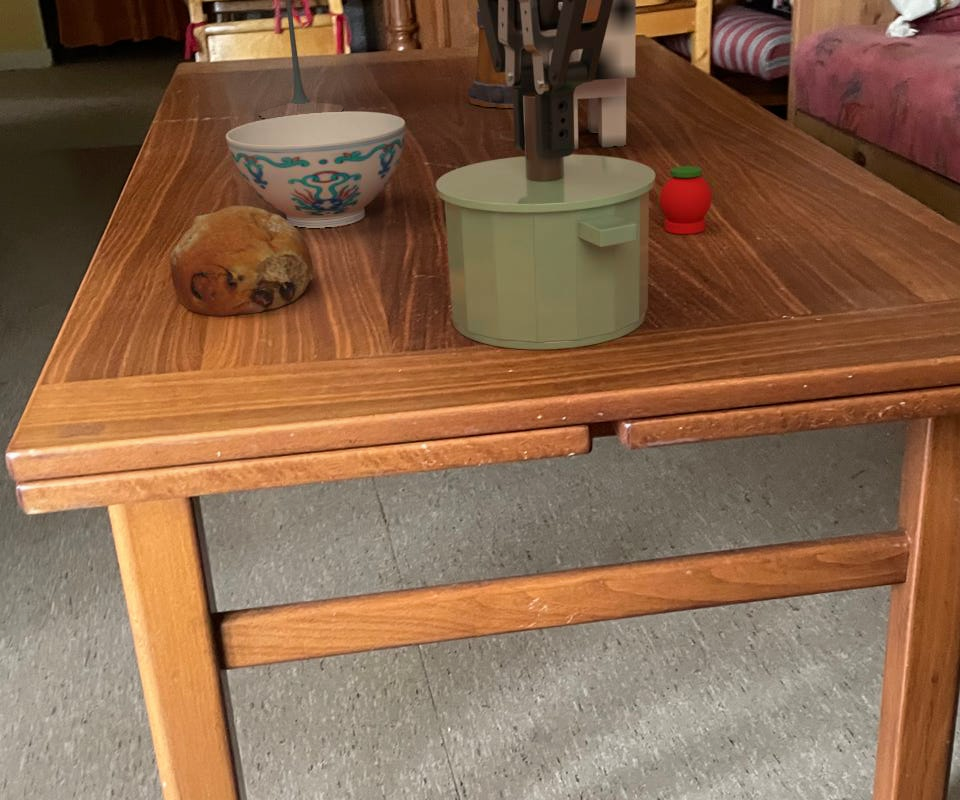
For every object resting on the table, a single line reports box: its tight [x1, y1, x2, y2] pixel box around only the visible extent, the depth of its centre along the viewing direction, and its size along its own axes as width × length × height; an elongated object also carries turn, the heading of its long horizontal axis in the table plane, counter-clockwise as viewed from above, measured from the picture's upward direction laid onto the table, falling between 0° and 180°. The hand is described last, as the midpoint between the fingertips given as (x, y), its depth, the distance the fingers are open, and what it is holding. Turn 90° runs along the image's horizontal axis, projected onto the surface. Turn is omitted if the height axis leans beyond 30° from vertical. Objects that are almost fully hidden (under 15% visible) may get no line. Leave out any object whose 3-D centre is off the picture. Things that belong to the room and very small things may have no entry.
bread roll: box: [168, 205, 314, 317], centre depth 87 cm, size 10×10×8 cm
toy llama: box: [549, 0, 637, 150], centre depth 126 cm, size 8×18×20 cm, turn 4°
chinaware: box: [225, 111, 406, 229], centre depth 105 cm, size 15×15×8 cm
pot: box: [444, 191, 650, 351], centre depth 78 cm, size 13×18×8 cm
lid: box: [435, 91, 657, 213], centre depth 75 cm, size 14×14×6 cm
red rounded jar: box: [659, 165, 712, 235], centre depth 97 cm, size 4×4×5 cm
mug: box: [468, 7, 513, 105], centre depth 151 cm, size 19×14×20 cm
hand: (544, 151), depth 76 cm, fingers closed on lid, 2 cm apart
